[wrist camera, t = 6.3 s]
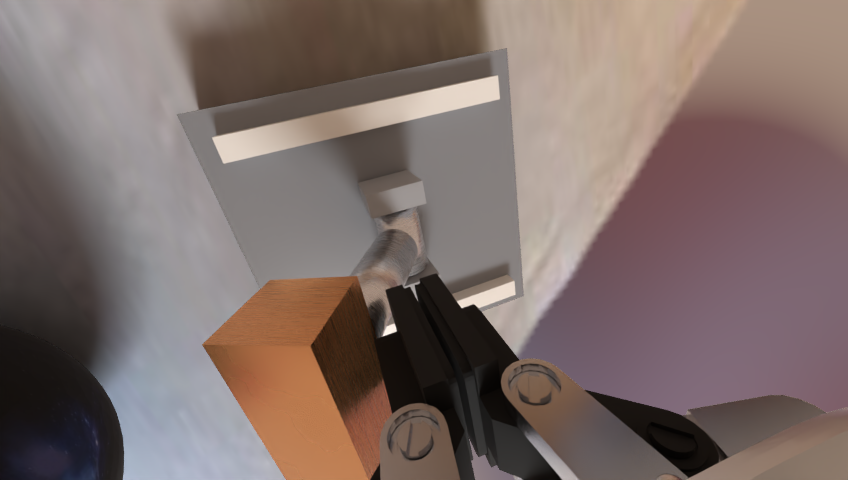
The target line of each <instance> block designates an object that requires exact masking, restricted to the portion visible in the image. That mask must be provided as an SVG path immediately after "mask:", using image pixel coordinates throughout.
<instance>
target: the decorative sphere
mask: <svg viewBox="0 0 848 480" xmlns="http://www.w3.org/2000/svg"><path fill="white" fill-rule="evenodd" d="M123 472H124V447H123V437H122V432H121V428H120V424H119V420H118V417H117V413H116V411H115V409H114V406H113V404H112V402H111V400H110V398H109V397H108V395H107V393H106V392H105V390H104V388H103V387H102V386H101V384H100V383H99V382H98V381H97V379H96V378H95V377H94V376H93V375H92V374H91V373H90V372H89V371H88V370H87V369H86V368H85V367H84V366H83V365H82V364H81V363H79V362H78V361H77V360H76V359H74V358H73V357H71V356H70V355H68V354H67V353H65V352H64V351H62V350H61V349H59V348H57V347H55V346H53V345H52V344H50V343H48V342H46V341H44V340H42V339H39V338H37V337H35V336H32V335H30V334H27V333H24V332H21V331H19V330H15V329H12V328H8V327H5V326H1V325H0V480H123Z"/></svg>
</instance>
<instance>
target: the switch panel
mask: <svg viewBox="0 0 848 480" xmlns="http://www.w3.org/2000/svg"><path fill="white" fill-rule="evenodd" d="M177 116H178V118H179V120H180V122H181V124H182V126H183V129H184V131H185V133H186V135H187V137H188V139H189V141H190V143H191V145H192V147H193V150H194V152H195V154H196V156H197V158H198V160H199V162H200V164H201V166H202V168H203V171H204V173H205V175H206V177H207V179H208V181H209V183H210V185H211V187H212V189H213V191H214V194H215V196H216V198H217V200H218V202H219V204H220V206H221V208H222V210H223V212H224V215H225V217H226V219H227V221H228V223H229V225H230V227H231V229H232V231H233V233H234V235H235V238H236V240H237V242H238V244H239V246H240V248H241V250H242V252H243V254H244V256H245V259H246V261H247V263H248V265H249V267H250V269H251V271H252V273H253V275H254V277H255V279H256V282H257V284H258V286H259V288H260V289H261V288H262V287H263V286H264V285H265V284H266V283H267V282H268V281H269V280H279V279H302V278H324V277H347V276H350V274H351V273H352V271H353V270H354V269H355V267H356V266H357V264H358V263H359V261H360V260H361V259H362V257H363V256H364V254H365V253H366V252H367V250H368V249H369V247H370V246H371V244H372V243H373V242H374V240H375V239H376V237H377V236H378V231H377V228H376V224H375V220H374V218H377V217H381V216H384V215H388V214H391V213H395V212H398V211H402V210H405V209H409V208H412V207H416V206H417V210H418V215H419V220H420V225H421V230H422V234H423V239H424V244H425V249H426V254H427V259H428V266H427V267H426V268H425V269H424V270H423V271H422V272H420V273H418V274H416V275H413V276H409V277H408V279H407V281H406V283H405V286H404V288H407V287H411V289H412V291H413V293H414V295H415V297H416V299H417V295H416V291H415V285H416V284H419V283H420V280H419V279H420V278H423V277H426V276H429V275H432V274H435V273H437V274H438V276H439V277H440V278H441V280H442V281H443V283H444V284H445V286H446V287H447V288H448V290H449V291H450V293H451V294H452V295H453V297H454V298H455V300H456V301H457V302H458V304H459V305H460V307H461V308H464V307H467V306H469V305H472V304H474V305H476V306H477V307H478V308H479V310H480V311H484V310H487V309H490V308H492V307H495V306H498V305H500V304H503V303H506V302H509V301H511V300H514V299H517V298H519V297H522V296H524V294H523V279H522V264H521V249H520V234H519V219H518V205H517V190H516V175H515V160H514V145H513V130H512V115H511V101H510V86H509V71H508V56H507V48H506V49H501V50H496V51H491V52H486V53H481V54H476V55H471V56H466V57H461V58H456V59H451V60H446V61H441V62H436V63H431V64H426V65H421V66H416V67H411V68H406V69H401V70H396V71H391V72H386V73H381V74H376V75H371V76H366V77H361V78H356V79H351V80H346V81H341V82H336V83H331V84H326V85H322V86H317V87H312V88H307V89H302V90H297V91H292V92H287V93H282V94H277V95H272V96H267V97H262V98H257V99H252V100H247V101H242V102H237V103H232V104H227V105H222V106H217V107H212V108H207V109H202V110H197V111H192V112H187V113H182V114H177ZM417 301H418V299H417ZM396 331H397V330H396V326H395V323H394V320H393V316H391V318H390V320H389V322H388V325H387V327H386V329H385V332H384V334H383V336H385V335H388V334H391V333H394V332H396Z"/></svg>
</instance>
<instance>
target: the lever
mask: <svg viewBox="0 0 848 480" xmlns="http://www.w3.org/2000/svg"><path fill="white" fill-rule="evenodd" d="M374 220H375V224H376V228H377V231H378V236H377V237H376V239H375V240H374V242H373V243H372V244H371V246H370V247H369V249H368V250H367V252H366V253H365V254H364V256H363V257H362V259H361V260H360V261H359V263H358V264H357V266H356V267H355V269H354V270H353V271H352V273H351V274H350V276H347V277H324V278H302V279H279V280H269V281H268V282H267V283H266V284H265V285H264V286H263V287H262V288H261V289H260V290H259V291H258V292H257V293H256V294H255V295H254V296H253V297H252V298H250V299H249V300H248V301H247V302H246V303H245V304H244V305H243V306H242V307H241V308H240V309H239V310H238V311H237V312H236V313H235V314H234V315H233V316H232V317H231V318H230V319H228V320H227V321H226V322H225V323H224V324H223V325H222V326H221V327H220V328H219V329H218V330H217V331H216V332H215V333H214V334H213V335H212V336H211V337H210V338H209V339H208V340H206V341H205V342H204V343H203V344H202V345H203V347H204V348H205V350H206V352H207V353H208V355H209V356H210V358H211V360H212V361H213V363H214V364H215V366H216V368H217V369H218V371H219V372H220V374H221V376H222V377H223V379H224V381H225V382H226V384H227V385H228V387H229V389H230V390H231V392H232V393H233V395H234V397H235V398H236V400H237V401H238V403H239V405H240V406H241V408H242V410H243V411H244V413H245V414H246V416H247V418H248V419H249V421H250V422H251V424H252V426H253V427H254V429H255V430H256V432H257V434H258V435H259V437H260V438H261V440H262V442H263V443H264V445H265V447H266V448H267V450H268V451H269V453H270V455H271V456H272V458H273V459H274V461H275V463H276V464H277V466H278V467H279V469H280V471H281V472H282V474H283V476H284V477H285V479H286V480H370V479H371V477H372V476H373V474H374V472H375V470H376V469H377V467H378V465H379V463H380V435H381V431H382V429H383V426H384V424H385V422H386V421H387V420H388V418H389V417H390V416H391V415H392V411H391V407H390V403H389V399H388V395H387V391H386V387H385V383H384V379H383V375H382V371H381V367H380V363H379V359H378V355H377V351H376V347H375V343H374V339H377V338H380V337H382V336H383V334H384V332H385V329H386V327H387V325H388V322H389V320H390V318H391V316H392V313H391V309H390V306H389V302H388V299H387V295H386V291H385V290H386V289H389V288H392V287H395V286H398V285H401V284H402V285H403V287H404V286H405V283H406V281H407V279H408V277H409V276H413V275H416V274H418V273H420V272H422V271H423V270H424V269H425V268H426V267H427V266H428V259H427V254H426V249H425V244H424V239H423V234H422V230H421V225H420V220H419V215H418V210H417V206H416V207H412V208H409V209H405V210H402V211H398V212H395V213H391V214H388V215H384V216H381V217H377V218H374Z"/></svg>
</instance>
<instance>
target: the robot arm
mask: <svg viewBox="0 0 848 480" xmlns="http://www.w3.org/2000/svg"><path fill="white" fill-rule="evenodd" d="M419 280H420V283H419V284H416V285H415V291H416V295H417V299H418V301H417V299H416V297H415V295H414V293H413V291H412V289H411V287H407V288H404V287H403V285H402V284H401V285H398V286H395V287H392V288H389V289H386V290H385V291H386V295H387V299H388V302H389V306H390V309H391V313H392V316H393V320H394V323H395V326H396V330H397V331H396V332H394V333H391V334H388V335H385V336H382V337H380V338H377V339H374V343H375V347H376V351H377V355H378V359H379V363H380V367H381V371H382V375H383V379H384V383H385V387H386V391H387V395H388V399H389V403H390V407H391V411H392V415H391V416H390V417H389V418H388V420H387V421H386V422H385V424H384V426H383V429H382V431H381V435H380V463H379V465H378V467H377V469H376V470H375V472H374V474H373V476H372V477H371V479H370V480H475V478H474V473H473V468H472V463H471V460H473V456H472V451H471V446H470V441H471V443H472V445H473V447H474V450H475V452H476V454H477V455H478V457H480V456H482V455H486V457H487V460H488V462H489V464H490V466H491V467H493V466H495V465H497V466H498V468H499V469H500V470H502V471H504V472H507V473H509V474H512V475H513V476H514V479H515V480H848V407H847V408H843V409H839V410H836V411H832V412H828V413H826V412H824V411H823V410H821V409H820V408H818V407H816V406H815V405H812V404H810V403H808V402H805V401H803V400H801V399H798V398H793V397H789V396H785V395H768V396H762V397H757V398H751V399H745V400H740V401H734V402H728V403H723V404H717V405H712V406H705V407H700V408H695V409H688V410H687V414H686V415H683V416H682V415H679V414H676V413H674V412H671V411H668V410H664V409H660V408H656V407H652V406H648V405H644V404H640V403H636V402H632V401H628V400H623V399H620V398H615V397H612V396H607V395H603V394H599V393H595V392H591V391H587V390H584V389H583V388H581V387H580V386H579V385H578V384H577V383H575V382H574V381H573V380H572V379H570V377H568V376H567V375H566V374H565V373H564V372H562V371H561V370H560V369H559V368H557V367H556V366H554V365H553V364H551V363H549V362H546V361H543V360H540V359H522V360H519V359H518V358H517V356H516V355H515V354H514V353H513V351H512V350H511V349H510V348H509V346H508V345H507V344H506V343H505V341H504V340H503V339H502V337H501V336H500V335H499V334H498V332H497V331H496V330H495V329H494V327H493V326H492V325H491V324H490V322H489V321H488V320H487V318H486V317H485V316H484V315H483V313H482V312H481V311H480V310H479V308H478V307H477V306H476V305H474V304H472V305H469V306H467V307H464V308H461V307H460V305H459V304H458V302H457V301H456V300H455V298H454V297H453V295H452V294H451V293H450V291H449V290H448V288H447V287H446V286H445V284H444V283H443V281H442V280H441V278H440V277H439V276H438V274H437V273H435V274H432V275H429V276H426V277H423V278H420V279H419ZM469 439H470V441H469Z"/></svg>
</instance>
